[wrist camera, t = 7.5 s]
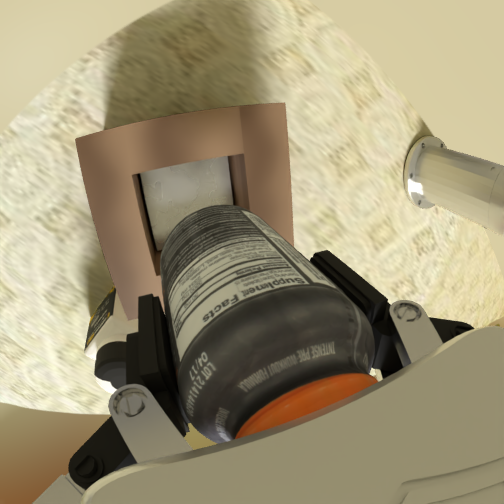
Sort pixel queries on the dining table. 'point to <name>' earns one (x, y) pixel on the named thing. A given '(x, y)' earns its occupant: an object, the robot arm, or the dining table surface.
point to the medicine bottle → (109, 342)
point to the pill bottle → (255, 326)
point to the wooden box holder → (174, 153)
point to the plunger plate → (184, 192)
